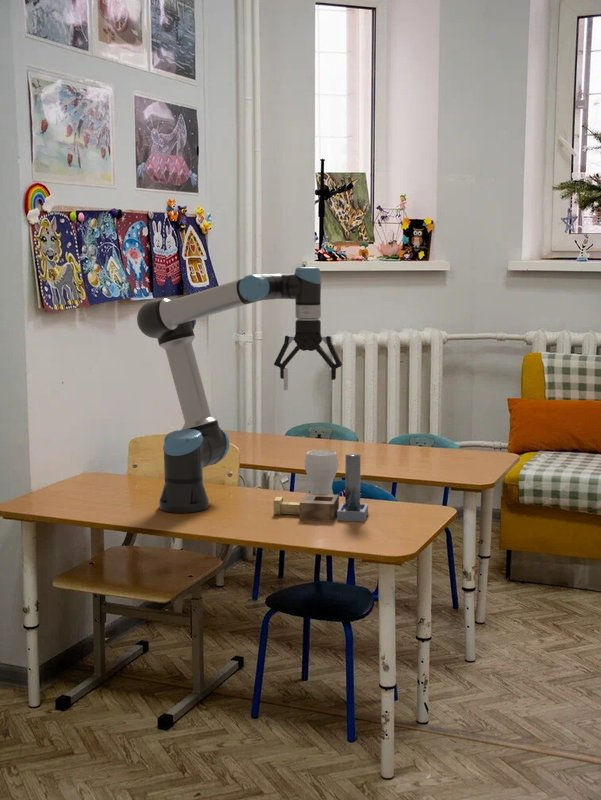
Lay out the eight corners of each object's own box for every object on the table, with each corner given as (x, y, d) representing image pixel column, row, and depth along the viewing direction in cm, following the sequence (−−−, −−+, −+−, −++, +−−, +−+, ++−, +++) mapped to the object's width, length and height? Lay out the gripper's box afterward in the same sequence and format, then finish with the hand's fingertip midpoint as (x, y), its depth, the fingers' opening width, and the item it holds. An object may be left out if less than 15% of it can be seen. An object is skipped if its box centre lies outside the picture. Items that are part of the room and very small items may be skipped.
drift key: (273, 514, 299) (273, 500, 299) (276, 510, 304) (276, 497, 303) (313, 516, 297) (313, 502, 297) (315, 512, 302) (315, 498, 301)
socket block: (299, 519, 294) (299, 502, 294) (306, 509, 306) (306, 493, 305) (333, 520, 293) (333, 504, 292) (338, 510, 304) (338, 494, 304)
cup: (309, 503, 313) (309, 456, 311) (300, 496, 323) (300, 450, 321) (342, 501, 316) (342, 454, 313) (332, 494, 326) (332, 448, 324)
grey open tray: (337, 520, 293) (337, 511, 293) (341, 511, 303) (341, 502, 303) (364, 521, 292) (364, 512, 292) (368, 512, 302) (368, 504, 301)
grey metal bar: (344, 512, 296) (344, 456, 293) (346, 509, 300) (346, 453, 298) (359, 513, 295) (359, 456, 292) (360, 509, 299) (361, 454, 297)
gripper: (264, 319, 296) (264, 390, 299) (348, 320, 292) (347, 392, 295) (269, 318, 303) (269, 387, 306) (351, 319, 299) (350, 389, 302)
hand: (308, 390), depth 301 cm, fingers open, 13 cm apart
